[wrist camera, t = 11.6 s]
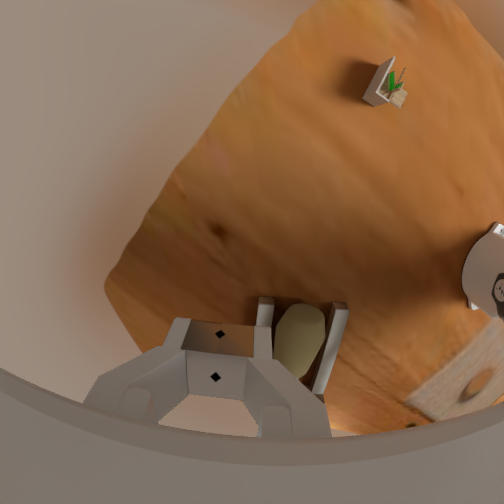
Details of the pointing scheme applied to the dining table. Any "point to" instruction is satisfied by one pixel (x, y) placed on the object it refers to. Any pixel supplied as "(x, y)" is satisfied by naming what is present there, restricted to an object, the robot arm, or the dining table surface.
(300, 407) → the robot arm
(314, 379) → the cradle
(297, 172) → the dining table surface
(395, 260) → the dining table surface
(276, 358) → the squeeze bottle
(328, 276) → the dining table surface
